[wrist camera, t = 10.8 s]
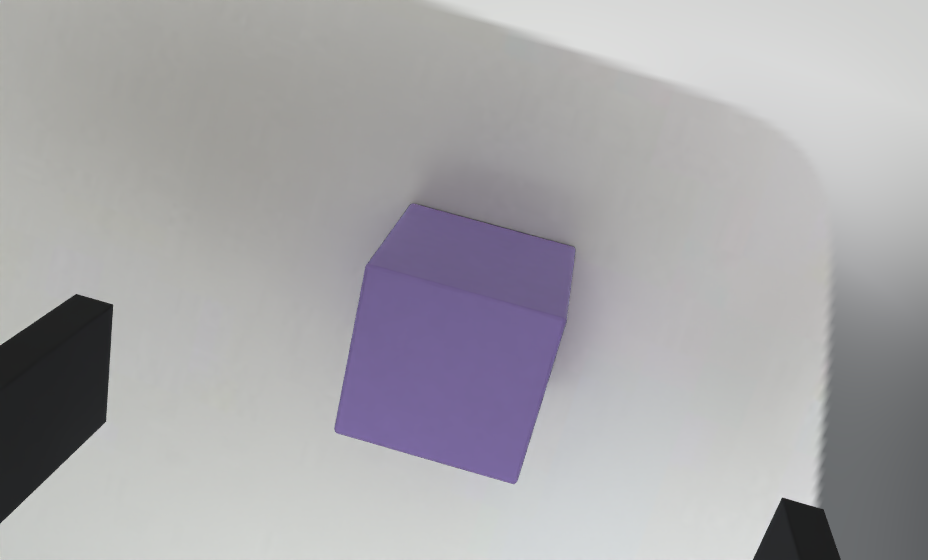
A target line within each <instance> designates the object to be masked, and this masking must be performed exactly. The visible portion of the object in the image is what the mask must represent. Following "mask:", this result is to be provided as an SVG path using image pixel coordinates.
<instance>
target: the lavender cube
mask: <svg viewBox="0 0 928 560" xmlns="http://www.w3.org/2000/svg"><path fill="white" fill-rule="evenodd" d="M574 259H575V248H574V247H572V246H568V245H565V244H561V243H557V242H554V241H550V240H546V239H543V238H539V237H535V236H531V235H528V234H524V233H520V232H517V231H513V230H509V229H506V228H502V227H498V226H495V225H491V224H487V223H483V222H480V221H476V220H472V219H469V218H465V217H461V216H458V215H454V214H450V213H447V212H443V211H439V210H435V209H432V208H428V207H424V206H421V205H417V204H410V205H409V207H408V208H407V210H406V211H405V212H404V214H403V215H402V216H401V218H400V219H399V221H398V222H397V223H396V225H395V226H394V228H393V229H392V230H391V232H390V233H389V234H388V236H387V237H386V239H385V240H384V241H383V243H382V244H381V245H380V247H379V248H378V250H377V251H376V252H375V254H374V255H373V257H372V258H371V259H370V261H369V262H368V263H367V265H366V266H365V272H364V277H363V282H362V287H361V292H360V298H359V303H358V308H357V313H356V318H355V324H354V329H353V334H352V339H351V344H350V350H349V355H348V360H347V365H346V371H345V376H344V381H343V386H342V391H341V397H340V402H339V407H338V412H337V417H336V423H335V428H334V429H335V432H336V433H338V434H342V435H345V436H349V437H352V438H356V439H359V440H363V441H366V442H370V443H373V444H376V445H380V446H383V447H387V448H390V449H394V450H397V451H401V452H404V453H408V454H411V455H415V456H418V457H421V458H425V459H428V460H432V461H435V462H439V463H442V464H446V465H449V466H453V467H456V468H460V469H463V470H466V471H470V472H473V473H477V474H480V475H484V476H487V477H491V478H494V479H498V480H501V481H505V482H508V483H511V484H515V483H516V482H517V481H518V478H519V474H520V471H521V468H522V465H523V461H524V458H525V455H526V452H527V448H528V445H529V442H530V439H531V435H532V432H533V429H534V426H535V422H536V419H537V416H538V413H539V409H540V406H541V403H542V400H543V397H544V393H545V390H546V387H547V384H548V380H549V377H550V374H551V371H552V367H553V364H554V361H555V358H556V354H557V351H558V348H559V345H560V341H561V338H562V335H563V332H564V328H565V325H566V322H567V314H568V306H569V298H570V290H571V282H572V275H573V267H574Z"/></svg>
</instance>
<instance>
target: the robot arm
mask: <svg viewBox="0 0 928 560" xmlns="http://www.w3.org/2000/svg"><path fill="white" fill-rule="evenodd" d="M112 315H113V304H109V303H106V302H102V301H99V300H95V299H92V298H88V297H85V296H81V295H78V294H76V295H74V296H73V297H71V298H70V299H68V300H67V301H65V302H64V303H62V304H61V305H59V306H58V307H56V308H55V309H53V310H52V311H50V312H49V313H47V314H46V315H45V316H43V317H42V318H40V319H39V320H37V321H36V322H34V323H33V324H31V325H30V326H28V327H27V328H25V329H24V330H22V331H21V332H19V333H18V334H16V335H15V336H14V337H12V338H11V339H9V340H8V341H6V342H5V343H3V344H2V345H0V523H1V522H2V521H3V520H4V519H5V518H6V517H7V516H9V515H10V514H11V513H12V512H13V511H14V510H15V509H16V508H17V507H18V506H19V505H20V504H21V503H22V502H23V501H24V500H25V499H26V498H27V497H28V496H29V495H30V494H31V493H32V492H33V491H34V490H36V489H37V488H38V487H39V486H40V485H41V484H42V483H43V482H44V481H45V480H46V479H47V478H48V477H49V476H50V475H51V474H52V473H53V472H54V471H55V470H56V469H57V468H58V467H59V466H60V465H61V464H62V463H64V462H65V461H66V460H67V459H68V458H69V457H70V456H71V455H72V454H73V453H74V452H75V451H76V450H77V449H78V448H79V447H80V446H81V445H82V444H83V443H84V442H85V441H86V440H87V439H88V438H89V437H91V436H92V435H93V434H94V433H95V432H96V431H97V430H98V429H99V428H100V427H101V426H102V425H103V424H104V423H105V422H106V413H107V397H108V380H109V364H110V348H111V331H112ZM753 560H840V556H839V553H838V551H837V548H836V545H835V542H834V539H833V536H832V533H831V530H830V527H829V524H828V521H827V519H826V515H825V513H824V510H823V509H820V508H816V507H813V506H809V505H806V504H802V503H799V502H796V501H792V500H789V499H785V498H782V499H781V501H780V503H779V505H778V508H777V510H776V512H775V514H774V516H773V518H772V520H771V522H770V525H769V527H768V529H767V531H766V533H765V535H764V537H763V539H762V542H761V544H760V546H759V548H758V550H757V552H756V554H755V556H754V559H753Z"/></svg>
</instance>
